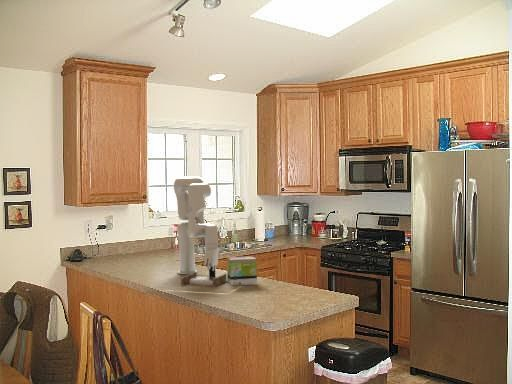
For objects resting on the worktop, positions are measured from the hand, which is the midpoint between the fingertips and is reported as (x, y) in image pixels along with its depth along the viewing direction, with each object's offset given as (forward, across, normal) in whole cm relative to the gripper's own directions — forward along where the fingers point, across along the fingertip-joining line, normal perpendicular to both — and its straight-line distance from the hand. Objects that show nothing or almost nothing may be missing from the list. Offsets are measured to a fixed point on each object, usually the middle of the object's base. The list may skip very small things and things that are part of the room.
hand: (212, 277), depth 315 cm
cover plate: (+1, +10, 0) cm, 10 cm away
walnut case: (+2, +11, 0) cm, 11 cm away
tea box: (+2, +4, +20) cm, 20 cm away
